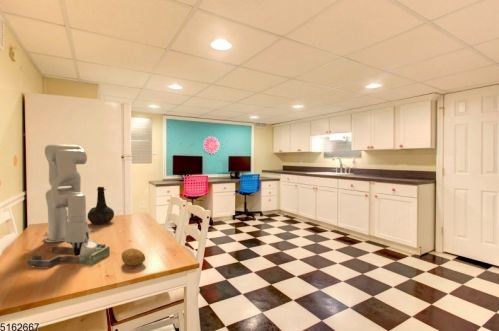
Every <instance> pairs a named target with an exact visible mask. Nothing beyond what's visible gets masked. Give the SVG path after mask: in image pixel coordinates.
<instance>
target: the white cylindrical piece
mask: <svg viewBox="0 0 499 331" xmlns="http://www.w3.org/2000/svg"><path fill="white" fill-rule="evenodd" d="M98 244H99V243H98V242H96V241H95V240H91V239H88V243H86V242H83V243H82V246H81V251H80V255H79V256H82V257H91V255H92V254H94V253H96V250H95V249H96V247H97V245H98Z"/></svg>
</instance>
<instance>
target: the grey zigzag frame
mask: <svg viewBox="0 0 499 331" xmlns="http://www.w3.org/2000/svg"><path fill="white" fill-rule="evenodd" d="M97 244H98V245H97V247H96V249H95V252H94V254H92V255H91V257H82V256H80V255H79V256H74V255H58V256H56V257H53V258H51V259H49V260H46V259H45V260H44V259H43V255H42V254H31V255H30V259H28V260H27V267H28V266H34V267H33V268H46V267H48V268H49V267H50V268H52V267H53V266H55V265H58V264H60V263H64V264H89V265H91V264H93V265H94V264H95V263H97V262H98V261H101V260H102V259H104V258H105V257H108V256H109V255H110V254H111V253H110V246H108V245H107V246H106V244H105V243H97ZM51 253H55V254H58V253H59V254H74V248H73V247H72V246H51ZM50 268H49V269H50Z"/></svg>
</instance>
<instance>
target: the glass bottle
mask: <svg viewBox="0 0 499 331" xmlns="http://www.w3.org/2000/svg"><path fill="white" fill-rule="evenodd" d="M106 189H107V188H106ZM106 189H105V187H104V186H98V187H97V189H96V191H97V199H96V201H97V202H96V206H95V207H92V208H91V209H89V211H88V213H87V214H86V218H87V220H88V221H89V222H90V223H91V224H93V225H97V226H99V225H106V224H109V223H110V222H111V221H112V220H113V219H114V217H115V211H114V210H113V209H112V208H111V207H109V206H108V205H107V200H106V197H105V190H106Z"/></svg>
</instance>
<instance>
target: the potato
mask: <svg viewBox="0 0 499 331" xmlns="http://www.w3.org/2000/svg"><path fill="white" fill-rule="evenodd" d="M121 261H122V262H123V264H125V265H128V266H132V267H133V266H134V267H135V266H139V265H142V264H143V263H144V262H145V261H146V255H145V254H144V253H143V251H141V250H140V249H137V248H128V249H125V250H124V251H123V252H122V253H121Z"/></svg>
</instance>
